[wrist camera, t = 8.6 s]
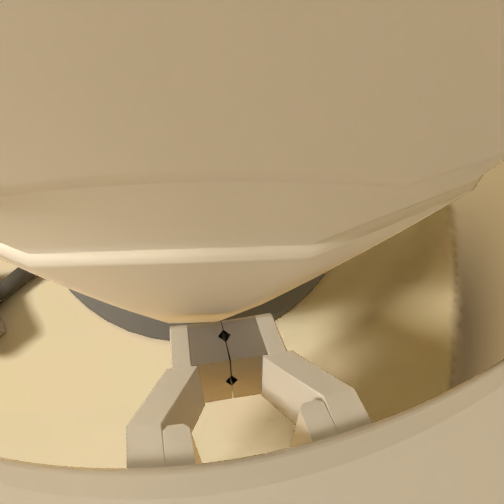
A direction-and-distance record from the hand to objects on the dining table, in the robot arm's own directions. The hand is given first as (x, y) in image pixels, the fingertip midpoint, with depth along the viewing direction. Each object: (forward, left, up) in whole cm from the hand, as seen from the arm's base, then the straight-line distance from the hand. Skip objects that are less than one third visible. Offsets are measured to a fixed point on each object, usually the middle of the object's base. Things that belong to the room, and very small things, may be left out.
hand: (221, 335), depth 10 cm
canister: (-8, +4, -7) cm, 11 cm away
